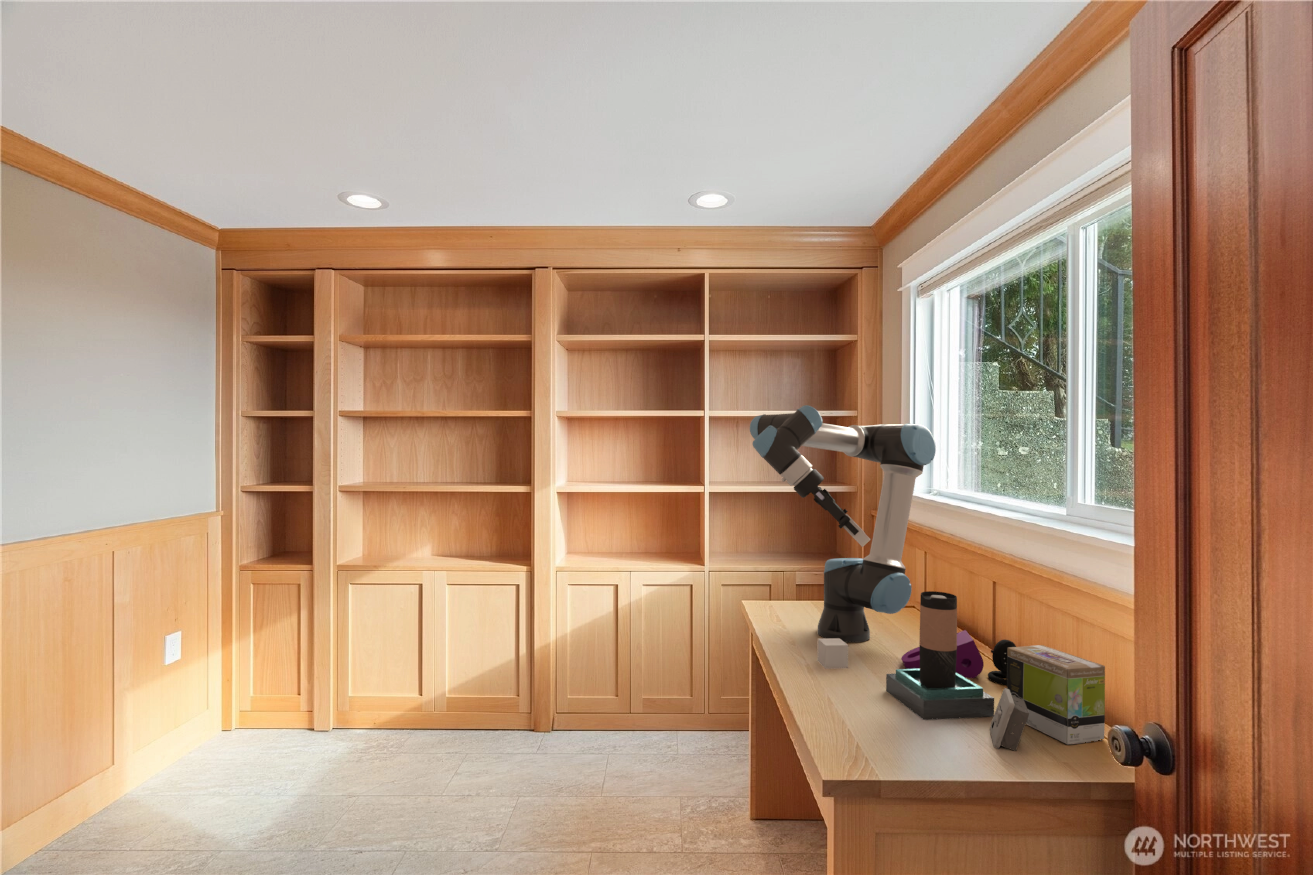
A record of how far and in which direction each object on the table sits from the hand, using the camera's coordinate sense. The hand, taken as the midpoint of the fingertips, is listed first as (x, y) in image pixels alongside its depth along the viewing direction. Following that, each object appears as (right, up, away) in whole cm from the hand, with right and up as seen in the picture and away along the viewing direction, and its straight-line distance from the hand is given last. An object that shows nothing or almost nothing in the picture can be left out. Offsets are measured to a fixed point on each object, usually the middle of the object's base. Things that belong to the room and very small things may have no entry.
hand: (863, 539), depth 164 cm
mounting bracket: (+21, -35, +5) cm, 41 cm away
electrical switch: (+16, -34, -36) cm, 52 cm away
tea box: (+29, -34, -30) cm, 54 cm away
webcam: (+34, -34, -3) cm, 48 cm away
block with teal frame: (+11, -34, -18) cm, 40 cm away
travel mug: (+11, -30, -18) cm, 36 cm away
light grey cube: (-6, -34, +7) cm, 35 cm away
